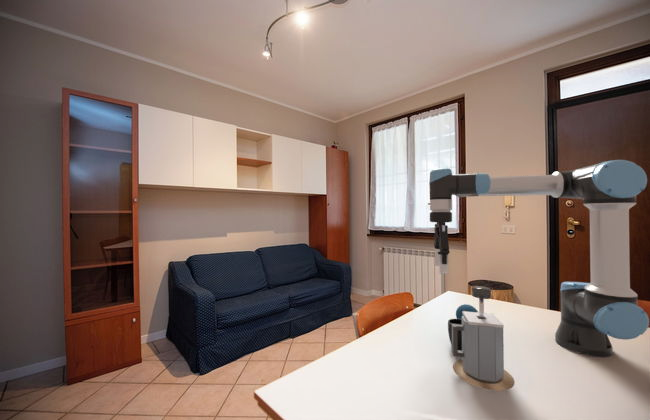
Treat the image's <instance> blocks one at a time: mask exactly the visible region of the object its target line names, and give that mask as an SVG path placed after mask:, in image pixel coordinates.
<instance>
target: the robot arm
mask: <svg viewBox="0 0 650 420" xmlns="http://www.w3.org/2000/svg"><path fill="white" fill-rule="evenodd" d="M428 183H429V185H428V186H429V202H428V203H427V205H428V206H429V211H431V212H429V222H430V223H435V224H434V241H433V242H434V243H433V247H434V266H435V267H439V274H443V275H444V274H445V275H448V274H449V254H450V252H451V251H450V245H449V244H450V243H449V234H448V233H449V232H448V230H449V229H448V228H449V227H448V225H446V223H452V222H453V213H452V212H451V211H452V210H453V196H455V197H458V198H467V197H506V196H507V197H510V196H513V197H514V196H519V197H521V196H525V197H526V196H551V197H552V198H557V199H561V198H564V199H574V200H575V199H576V200H583V201H582V203H583V204H582V205H583V206H584V207H586V208H587V209H588V210H589V254H590V255H589V258H590V259H589V260H590V266H589V267H590V269H589V270H590V282H582V281H562V282H561V284H560V290H559V293H560V322H559V325H558V327H557V329H556V331H555V334H554V337H555V338H554V340H555V342H556V343H557V344H558V345H559V346H561V347H563V348H564V349H567V350H570V351H572V352H575V353H578V354H583V355H587V356H592V357H597V358H598V357H599V358H600V357H601V358H606V357H607V358H608V357H611V356H613V355H614V353H613V351H614V349H613V346H612V342H611V341H610V337H612V338H614V339H617V340H633V339H636V338H638V337H640V336H642V335H644V334H645V332H646V331H648V328H649V326H650V318H649V315H648V314H647V312H646V311H644V309H643V308H642V307H641V306H638V305H639V304H638V303H639V301H638V297H639V296H638V293H636V291H634V290H633V289H632V288H631V279H630V278H631V277H630V276H631V272H630V271H631V267H630V265H631V264H630V262H631V261H630V211H629V210H630V209H631V208H632V207H634V206H636V205H637V195H639V194H640V193H641V192H642V191H644V190H645V189H646V186H647V184H648V177H647V174H646V171H645V170H644V168H642V167H641V166H640V165H638V164H636V163H635V162H633V161H630V160H626V159H615V160H608V161H607V160H606V161H602V162H599V163H596V164H592V165H588V166H587V165H586V166H584V167H581V168H575V169H572V170H571V169H570V170H565V171H554V172H553V173H552V174H541V175H539V174H538V175H513V176H511V175H509V176H506V175H505V176H490V175H489V174H488V173H484V172H483V173H482V172H477V173H459V174H456V173H453V171H452V169H451V168H445V167H443V168H434V169H432V170H431V171H430V172H429V182H428Z"/></svg>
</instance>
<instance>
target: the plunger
mask: <svg viewBox="0 0 650 420" xmlns="http://www.w3.org/2000/svg"><path fill="white" fill-rule="evenodd" d="M471 296H472V297H473V298H477V299H478V313H479V319H484V313H485V305H484V304H485V303H484V302H485V301H484V300H489V299H492V289H491V288H490V287H487V286H479V285H475V286H474V285H473V286H471ZM478 326H479V325H478ZM488 327H489V326H488Z"/></svg>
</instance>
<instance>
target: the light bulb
mask: <svg viewBox="0 0 650 420" xmlns="http://www.w3.org/2000/svg"><path fill="white" fill-rule="evenodd" d="M462 311H467V312H478V313H479V310H478V309H476V307H474V306H472V305H470V304H465V303H464V304H461V305H459V306H457V309H456V311H455V317H456V318H455V319H462V316H463V314H462Z"/></svg>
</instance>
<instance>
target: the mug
mask: <svg viewBox="0 0 650 420" xmlns="http://www.w3.org/2000/svg"><path fill="white" fill-rule="evenodd" d="M452 324H460V325H462V319H457V318H450V319H448V321H447V331H448V337H449V342H450V345H451V346H452ZM457 341H458V350H461V351H462V331H461V330H457Z"/></svg>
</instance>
